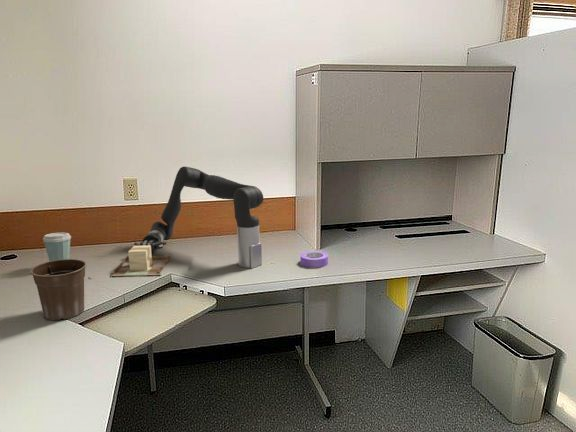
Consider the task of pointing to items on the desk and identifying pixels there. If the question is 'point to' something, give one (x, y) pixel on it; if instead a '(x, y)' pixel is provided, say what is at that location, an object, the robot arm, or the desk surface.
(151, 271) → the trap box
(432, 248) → the desk surface
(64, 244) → the disposable coffee cup
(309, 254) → the masking tape
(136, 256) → the block
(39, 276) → the plant pot
